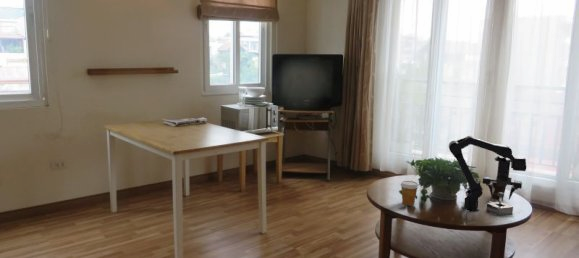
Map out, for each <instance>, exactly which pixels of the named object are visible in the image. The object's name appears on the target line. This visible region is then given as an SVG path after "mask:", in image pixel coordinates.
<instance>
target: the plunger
mask: <svg viewBox="0 0 579 258" xmlns="http://www.w3.org/2000/svg"><path fill="white" fill-rule="evenodd" d="M498 196H499V197H500V199H499V200H498V202H499V206H501V202H502V200H503V199H502V197H503V198H504V196H505V193H502V192H498Z"/></svg>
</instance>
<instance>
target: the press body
mask: <svg viewBox="0 0 579 258" xmlns="http://www.w3.org/2000/svg"><path fill="white" fill-rule="evenodd" d="M485 210H486V211H487V212H489V213H491V214H494V215H496V216H497V217H500V216H508V215H510V216H511V215H513V210H514V206H511V205H510V204H507V203H504V202H502V201H501V206H499V201H492V200H490V201H488V202H486V209H485Z"/></svg>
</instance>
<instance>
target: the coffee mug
mask: <svg viewBox="0 0 579 258" xmlns="http://www.w3.org/2000/svg"><path fill="white" fill-rule="evenodd" d="M492 184H493V196H492V197H491V199H493V200H497V201H499V199H500V197H499V196H498V192H502V193H504V194H505V191H506V189H507V186H506V187H503V186H497V183H492ZM502 200H504V197H502Z"/></svg>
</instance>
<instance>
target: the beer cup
mask: <svg viewBox="0 0 579 258" xmlns="http://www.w3.org/2000/svg"><path fill="white" fill-rule="evenodd" d="M418 184H419V183H418V182H416V181H412V180H403V181H401V183H400V187H401V198H402V199H401V200H402V204H403V205H404V206H409V207H410V206H415V202H416V201H415V200H416V198H417V197H416V196H417V191H418V188H419V185H418Z"/></svg>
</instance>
